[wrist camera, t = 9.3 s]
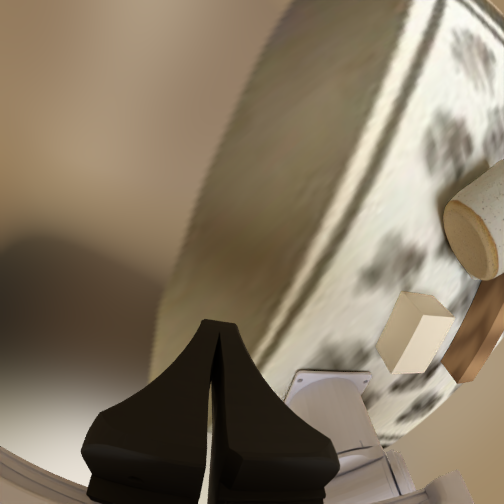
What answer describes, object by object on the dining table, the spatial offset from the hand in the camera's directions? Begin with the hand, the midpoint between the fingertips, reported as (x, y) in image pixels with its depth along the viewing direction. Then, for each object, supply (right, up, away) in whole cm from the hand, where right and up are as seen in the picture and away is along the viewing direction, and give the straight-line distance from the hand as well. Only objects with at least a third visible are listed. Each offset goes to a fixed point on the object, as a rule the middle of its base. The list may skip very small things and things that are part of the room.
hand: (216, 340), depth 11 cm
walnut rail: (+27, +2, +11) cm, 29 cm away
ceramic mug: (+21, +7, +9) cm, 24 cm away
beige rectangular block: (+15, -3, +13) cm, 20 cm away
